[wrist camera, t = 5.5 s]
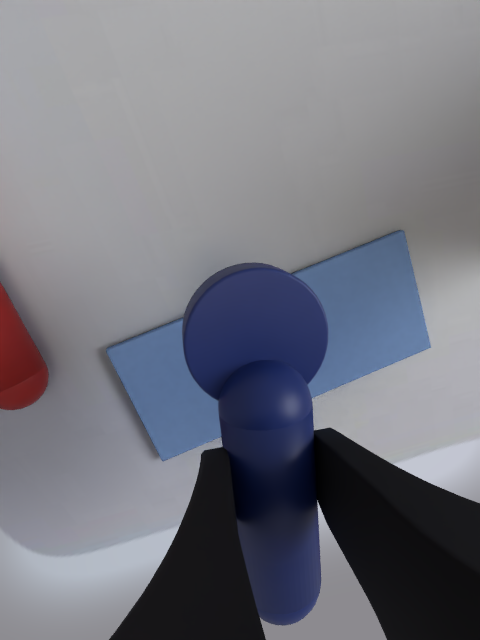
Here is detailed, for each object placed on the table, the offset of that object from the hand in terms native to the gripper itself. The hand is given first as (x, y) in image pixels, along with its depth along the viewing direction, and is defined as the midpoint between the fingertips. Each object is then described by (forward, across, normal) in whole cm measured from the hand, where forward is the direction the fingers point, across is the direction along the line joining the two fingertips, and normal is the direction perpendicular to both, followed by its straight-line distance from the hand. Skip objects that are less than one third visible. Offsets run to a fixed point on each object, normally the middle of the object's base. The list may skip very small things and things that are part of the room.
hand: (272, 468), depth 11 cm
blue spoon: (+1, 0, 0) cm, 1 cm away
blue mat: (+8, -2, -1) cm, 9 cm away
